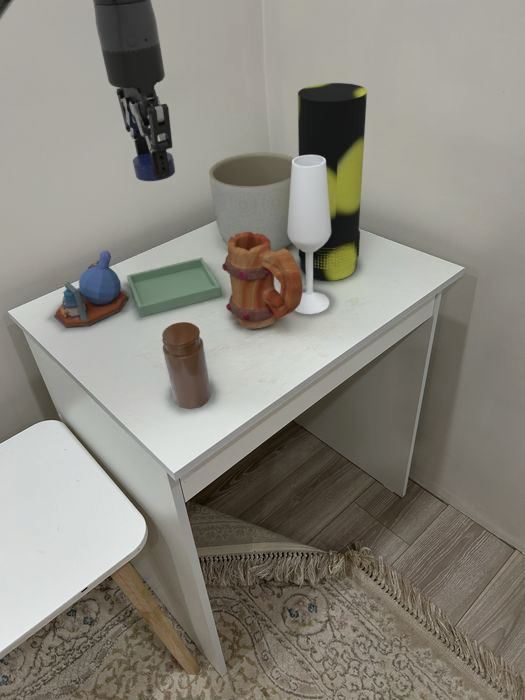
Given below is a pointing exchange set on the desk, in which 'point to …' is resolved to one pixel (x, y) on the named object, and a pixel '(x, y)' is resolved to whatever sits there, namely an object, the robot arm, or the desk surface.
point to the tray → (173, 286)
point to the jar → (186, 365)
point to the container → (335, 168)
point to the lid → (150, 167)
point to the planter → (253, 196)
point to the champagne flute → (309, 220)
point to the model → (92, 296)
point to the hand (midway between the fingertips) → (154, 169)
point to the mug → (261, 280)
